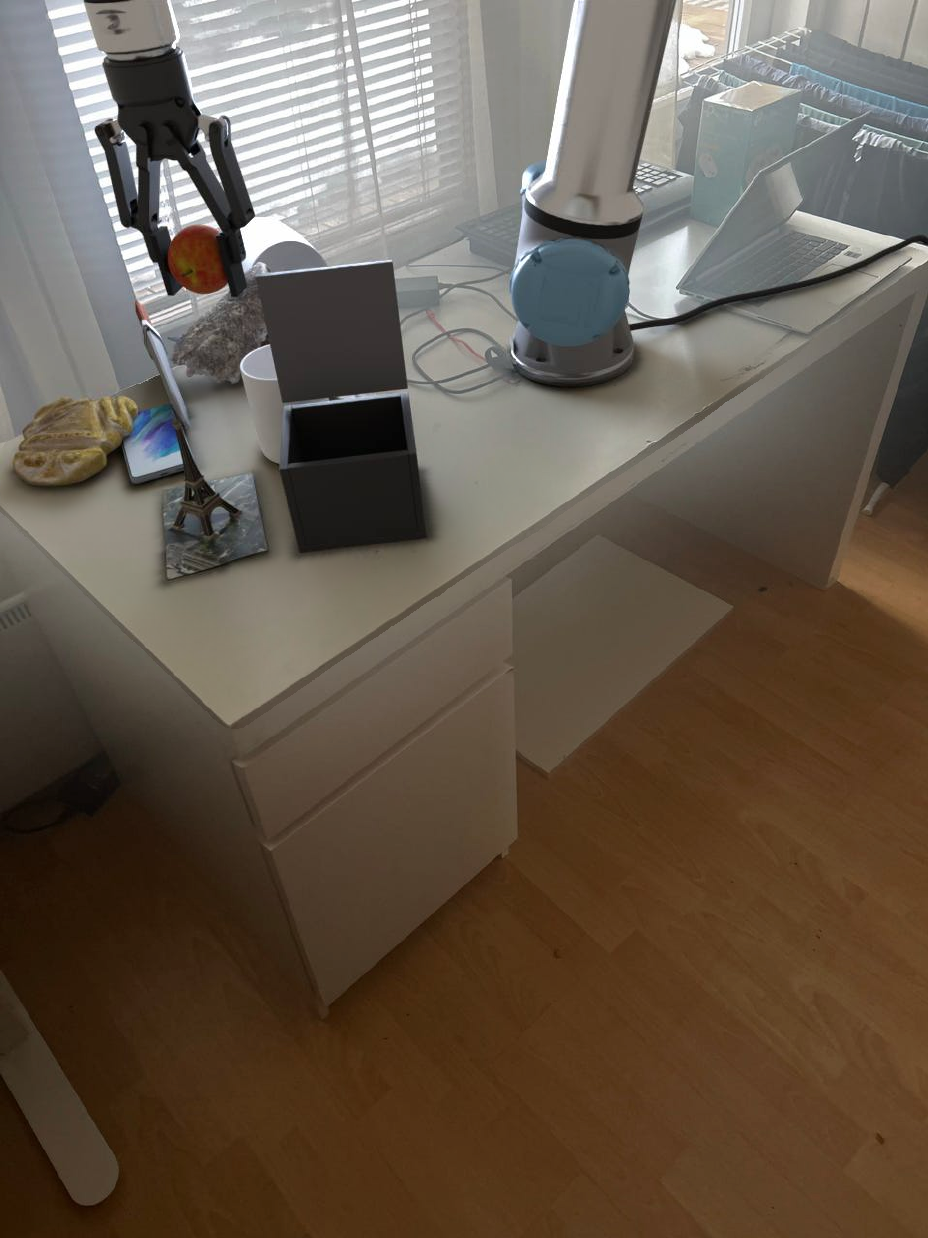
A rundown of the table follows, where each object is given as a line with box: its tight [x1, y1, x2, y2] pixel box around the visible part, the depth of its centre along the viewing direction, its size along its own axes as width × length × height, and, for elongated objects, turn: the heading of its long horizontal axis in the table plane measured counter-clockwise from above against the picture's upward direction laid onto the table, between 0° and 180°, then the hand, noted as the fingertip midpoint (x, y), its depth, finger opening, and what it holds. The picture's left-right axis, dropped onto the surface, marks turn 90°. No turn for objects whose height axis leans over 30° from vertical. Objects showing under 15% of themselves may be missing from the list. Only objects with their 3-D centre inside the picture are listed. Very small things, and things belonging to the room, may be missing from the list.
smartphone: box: [120, 403, 196, 485], centre depth 105 cm, size 7×1×15 cm
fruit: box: [168, 223, 228, 295], centre depth 98 cm, size 7×7×8 cm
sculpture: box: [12, 395, 139, 487], centre depth 104 cm, size 13×4×15 cm
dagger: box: [134, 300, 191, 430], centre depth 115 cm, size 7×2×30 cm
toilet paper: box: [241, 216, 328, 274], centre depth 126 cm, size 12×12×12 cm
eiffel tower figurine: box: [161, 409, 268, 581], centre depth 89 cm, size 15×10×13 cm
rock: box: [169, 262, 271, 385], centre depth 116 cm, size 19×7×10 cm
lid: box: [256, 259, 409, 403], centre depth 87 cm, size 12×13×1 cm
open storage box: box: [278, 391, 427, 554], centre depth 90 cm, size 12×13×10 cm
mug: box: [240, 345, 359, 465], centre depth 100 cm, size 9×12×11 cm
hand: (207, 290), depth 100 cm, fingers closed on fruit, 7 cm apart
